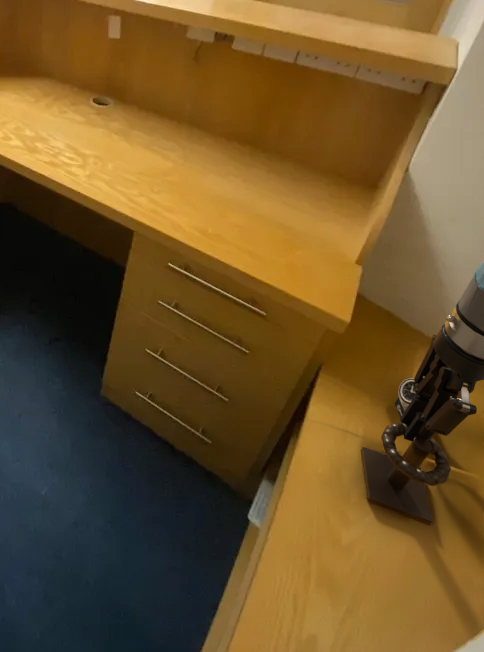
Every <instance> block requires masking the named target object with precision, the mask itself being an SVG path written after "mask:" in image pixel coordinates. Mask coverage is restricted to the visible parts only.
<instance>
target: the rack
mask: <svg viewBox="0 0 484 652" xmlns="http://www.w3.org/2000/svg"><path fill="white" fill-rule="evenodd" d="M431 450H432V445H431V444H430V442H429V441H428V440H426V439H425V438H423V437H420V436H417V437H415V438H414V440H413V441H410V444H408V446H407V448H406V450H405V451H404V452H403V453H402V454H401V456H402V457H403V459H404V460H405V461H406V462H408V463H409V464H410V465H412V466H413V467H415V468H416V469H419V470H422V468H421V465H422V464H423V463H424V462H425V460H426V458H428V456H429V455H430V454H431V453H430V452H431ZM360 457H361V463H362V472H363V480H364V486H365V494H366V501H367V502H368V503H371V504H373V505H377V506H379V507H382V508H384V509H387V510H390V511H392V512H395V513H396V514H397V513H398V514H400V515H402V516H405V517H407V518H410V519H413V520H416V521H418V522H421V523H424V524H426V525H429V526H430V525H431V524H433V516H432V512H431V507H430V502H429V498H428V494H427V489H426V484H423V483H420V482H416V481H413V480H412V479H410V478H409V477H408V476H406V475H405V474H404V473H402V472H401V471H399V470H398V469H397V468H396V467H395V466H394V464H393V463H392V462H391V460H390V459H389V458H388V456H387V455H386V454H385V453H383V452H381V451H377V450H374V449H371V448H368V447H366V446H362V447H361V448H360Z"/></svg>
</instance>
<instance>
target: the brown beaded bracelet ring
mask: <svg viewBox="0 0 484 652" xmlns="http://www.w3.org/2000/svg"><path fill="white" fill-rule="evenodd" d="M409 426H410V425H408V424H404V423H401V422H396V423H392V424H388V425H387V426H385V428H384V430H383V431H382V432H383V433H382V434H381V435H380V436H381V437H380V440H381V444H382V448H383V451H384V454H386V455H387V456H388V458H389V459H390V460H391V462H392V463H393V464H394V466H395V467H396V468H397V469H398V470H399V471H401V472H402V473H404V474H405V475H406V476H408V477H409V478H410V479H412V480H413V481H416V482H420V483H423V484H425V486H426V485H427V486H430V487H434V486H438V485H441V484H445V483H446V482H447V481H448V479H449V475H450V473H451V470H452V469H451V465H450V462H449V459H448V456H447V453H446V452H445V450H443V448H442V447H441V446H440V445H439V443H438V442H437V441H436V440H435V439H434V437H432V436H431V437H430V438H428V441H429V442H430V444H431V445H432V450H431V452H430V453H429V454H431V455H432V457H433V461H434V463H435V466H434V467H433V469H432V470H427V471H426V470H423V469H421V470H419V469H416V468H415V467H413V466H412V465H410V464H409V463H408V462H406V461H405V460H404V459H403V457H402V454H401V453H400V452H399V451H398V449H397V445H396V440H397V438H398V437H402V436H404V435H403V434H404V433H405V431H406V430H407V429H408V427H409Z"/></svg>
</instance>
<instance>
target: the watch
mask: <svg viewBox="0 0 484 652" xmlns="http://www.w3.org/2000/svg"><path fill="white" fill-rule="evenodd" d="M414 378H415V377H409V378H406V379H404V380H402V382H401V383H400V384H399V387H398V392H397V393H398V396H397V398H396V400H395V402H394V405H395V408H396V410H397V413H398V416H399V419H400V418H401V416H402V415H403V413H404V412H405V410H406V409H407V407H408V406H409V404H410V403H411V401H412V399H413V398H414V396H415V395H416V394H415V388H416V387H417V386H418V384H417V383H415V382H414ZM434 434H435V432H434V433H433V434H432V435H431V437H432V436H433V435H434Z"/></svg>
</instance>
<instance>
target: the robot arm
mask: <svg viewBox="0 0 484 652" xmlns="http://www.w3.org/2000/svg"><path fill="white" fill-rule="evenodd" d="M413 378H414V382H415V383H417V384H418V386H417V387H416V388H415V394H416V395H415V396H414V398H413V399H412V401H411V403H410V404H409V406H408V407H407V409H406V410H405V412H404V413H403V415H402V416H401V418H400V417H399V420H400V423H404V424H408V425H410V426H409V427H408V429H407V430H406V431H405V433H404V434H403V435H402V436H403V439H404V440H406V441H409V442H412V441H413V440H414V438H415V437H417V436H420V437H423V438H425V439H426V440H428V438H430V437H432V436H433V435H434V434H438V435H441V436H444V437H447V436H449V435H450V433H452V432H453V431H454V430H455V428H457V427H458V426H459V425H460V424H461V423H462V422H463V421H464V420H466V418H467V417H468V416H473V415H476V414H477V412H478V411H477V410H478V408H477V405H476V404H473V403H472V402H471V401H470V394H472V393H473V392H474V390H475V387H476V384H477V382H481V381H483V380H484V260H483V261H482V262H481V264H479V266H478V267H477V268H476V269H475V271H474V273H473V276H472V278H471V279H470V281H469V282H468V284H467V286H466V287H465V289H464V291H463V292H462V295H461V296H460V298H459V299H458V302H457V303H456V305H455V307H454V308H453V309H452V311H451V312H450V314H447V315H446V316H445V322H444V324H443V325H442V326H441V328H440V329H439V331H438V332H437V334H433V335H432V337H431V341H430V344H429V347H428V349H427V351H426V354H425V356H424V358H423V360H422V361H421V363H420V365H419V367H418V369H417V371H416V373H415V375H414V377H413ZM433 433H434V434H433ZM432 434H433V435H432ZM431 435H432V436H431Z"/></svg>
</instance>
